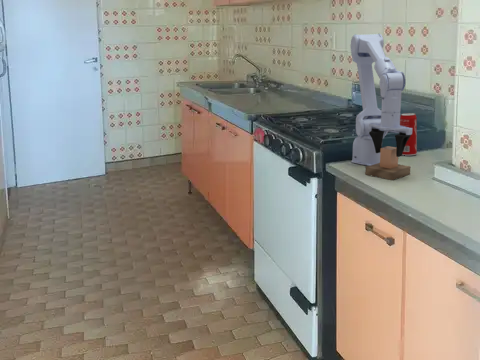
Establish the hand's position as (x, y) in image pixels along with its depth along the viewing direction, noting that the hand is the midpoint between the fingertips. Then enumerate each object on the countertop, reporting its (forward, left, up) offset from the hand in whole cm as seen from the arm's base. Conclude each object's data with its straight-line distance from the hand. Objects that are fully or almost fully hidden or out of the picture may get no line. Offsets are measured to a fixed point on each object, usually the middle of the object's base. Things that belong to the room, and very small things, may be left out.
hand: (388, 154), depth 181 cm
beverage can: (-10, +28, -7) cm, 31 cm away
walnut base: (0, 0, -7) cm, 7 cm away
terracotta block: (0, 0, -4) cm, 4 cm away
